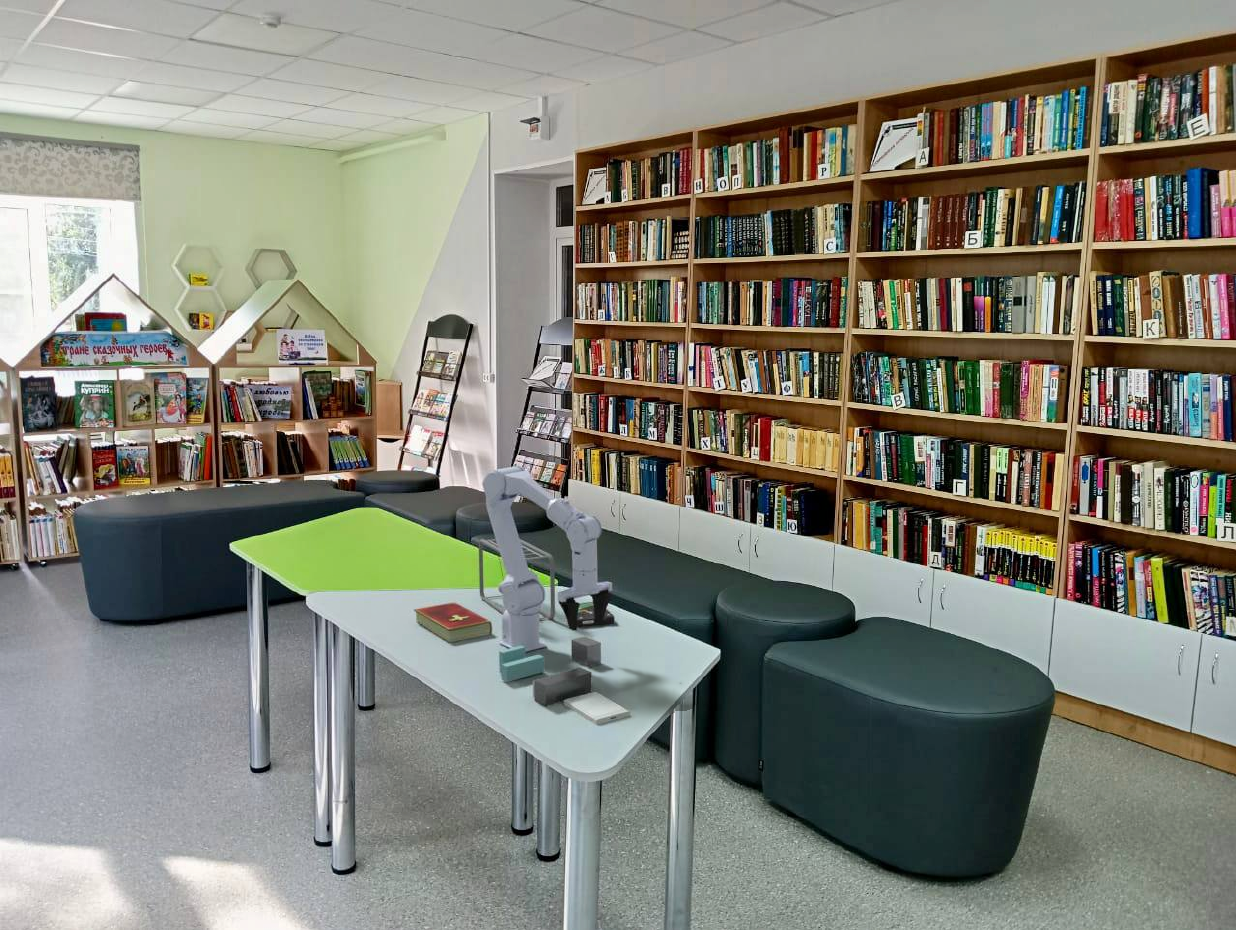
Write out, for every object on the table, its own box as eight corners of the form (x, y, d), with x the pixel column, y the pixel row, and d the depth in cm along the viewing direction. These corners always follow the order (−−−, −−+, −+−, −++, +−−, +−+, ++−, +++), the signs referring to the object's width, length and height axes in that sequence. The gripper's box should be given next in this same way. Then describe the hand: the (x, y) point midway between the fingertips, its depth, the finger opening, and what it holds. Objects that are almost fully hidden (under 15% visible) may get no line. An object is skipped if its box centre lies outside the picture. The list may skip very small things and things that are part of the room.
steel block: (571, 660, 227) (571, 639, 227) (585, 656, 230) (584, 636, 229) (587, 667, 223) (587, 646, 222) (600, 663, 225) (600, 642, 225)
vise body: (529, 697, 204) (528, 677, 204) (574, 684, 212) (574, 664, 211) (545, 706, 200) (545, 685, 199) (591, 692, 207) (591, 672, 207)
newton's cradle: (479, 598, 278) (477, 537, 276) (513, 593, 283) (512, 534, 281) (519, 627, 252) (518, 560, 250) (555, 621, 257) (555, 555, 255)
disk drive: (615, 626, 255) (598, 610, 268) (615, 616, 254) (598, 600, 268) (577, 630, 251) (562, 613, 265) (577, 620, 251) (562, 603, 265)
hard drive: (563, 699, 201) (596, 719, 190) (596, 691, 205) (630, 710, 195) (563, 707, 201) (596, 727, 191) (596, 698, 205) (630, 717, 195)
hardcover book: (455, 615, 263) (455, 600, 263) (492, 635, 246) (492, 619, 246) (414, 623, 256) (413, 608, 256) (449, 644, 239) (448, 628, 239)
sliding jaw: (492, 674, 217) (491, 653, 216) (529, 664, 223) (528, 643, 223) (506, 682, 212) (506, 660, 212) (544, 671, 219) (543, 650, 218)
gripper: (570, 577, 216) (571, 636, 217) (620, 566, 225) (621, 623, 227) (551, 571, 221) (552, 629, 223) (601, 561, 230) (602, 617, 232)
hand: (586, 626), depth 225 cm, fingers open, 7 cm apart
